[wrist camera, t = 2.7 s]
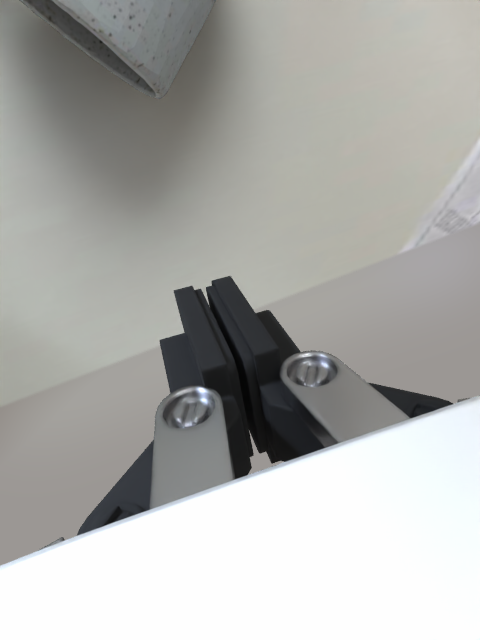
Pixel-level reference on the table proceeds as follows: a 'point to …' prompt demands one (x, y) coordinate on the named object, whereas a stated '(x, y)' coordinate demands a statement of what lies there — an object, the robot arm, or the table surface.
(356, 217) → the table surface
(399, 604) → the robot arm
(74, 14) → the ceramic mug
